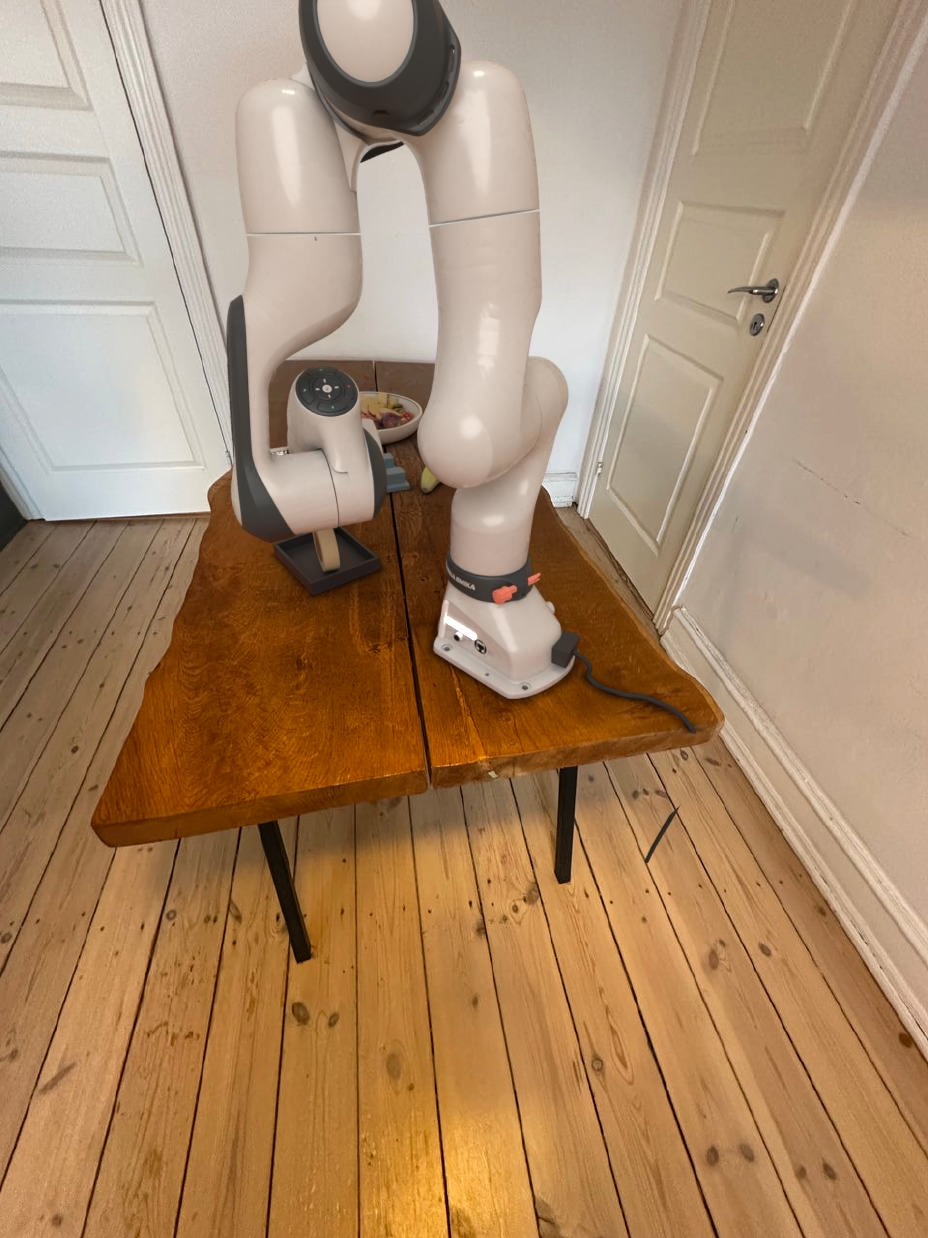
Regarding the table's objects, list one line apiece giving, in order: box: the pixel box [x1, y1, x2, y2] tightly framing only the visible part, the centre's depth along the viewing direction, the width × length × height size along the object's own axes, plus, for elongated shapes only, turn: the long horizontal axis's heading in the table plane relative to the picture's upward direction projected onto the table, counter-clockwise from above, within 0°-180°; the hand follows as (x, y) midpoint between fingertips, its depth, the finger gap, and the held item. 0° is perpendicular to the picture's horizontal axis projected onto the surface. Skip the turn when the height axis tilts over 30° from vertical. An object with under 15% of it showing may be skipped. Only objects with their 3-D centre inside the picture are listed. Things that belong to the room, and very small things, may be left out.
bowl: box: [359, 391, 423, 445], centre depth 146 cm, size 30×30×8 cm
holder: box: [383, 452, 411, 494], centre depth 125 cm, size 14×9×4 cm, turn 24°
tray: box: [272, 526, 381, 597], centre depth 99 cm, size 15×13×2 cm
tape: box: [313, 528, 340, 572], centre depth 95 cm, size 9×3×9 cm, turn 23°
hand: (316, 483), depth 90 cm, fingers open, 8 cm apart
